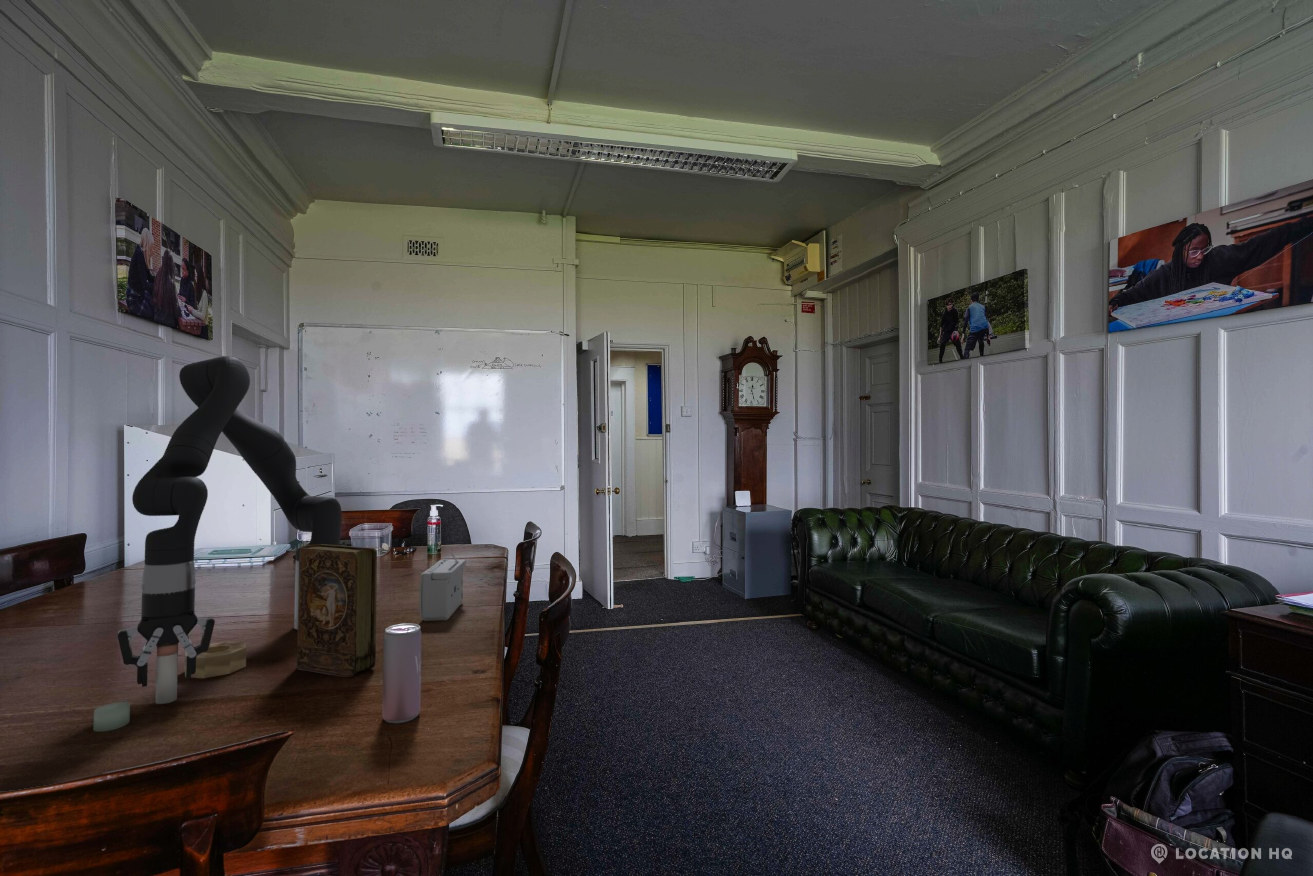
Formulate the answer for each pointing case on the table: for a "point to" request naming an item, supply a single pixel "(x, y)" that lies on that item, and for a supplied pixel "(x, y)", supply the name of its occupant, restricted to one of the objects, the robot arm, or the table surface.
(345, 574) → the book
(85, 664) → the table surface
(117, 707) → the bead
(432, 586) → the stereo radio cassette player
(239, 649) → the bead
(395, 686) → the beverage can
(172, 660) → the grey cylinder
